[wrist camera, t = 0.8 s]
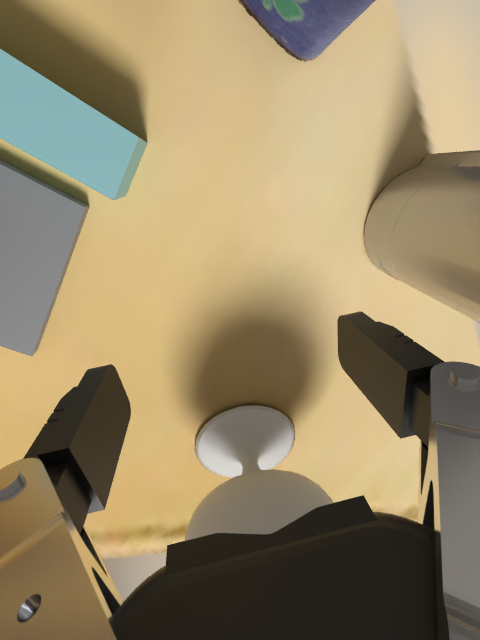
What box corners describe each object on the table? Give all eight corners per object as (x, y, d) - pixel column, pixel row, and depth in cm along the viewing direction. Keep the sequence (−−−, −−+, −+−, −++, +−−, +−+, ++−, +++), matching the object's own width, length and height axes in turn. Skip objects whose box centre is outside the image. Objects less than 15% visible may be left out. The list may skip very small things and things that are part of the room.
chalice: (163, 429, 33) (143, 605, 20) (276, 376, 32) (335, 525, 18) (220, 492, 39) (234, 655, 26) (315, 450, 38) (380, 599, 25)
